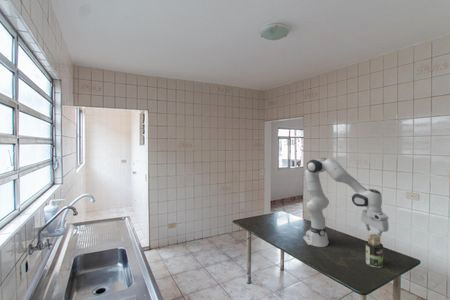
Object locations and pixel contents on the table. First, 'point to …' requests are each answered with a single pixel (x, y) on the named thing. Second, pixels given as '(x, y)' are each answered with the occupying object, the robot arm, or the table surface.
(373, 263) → the coffee can
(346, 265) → the table surface
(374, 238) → the beech block
